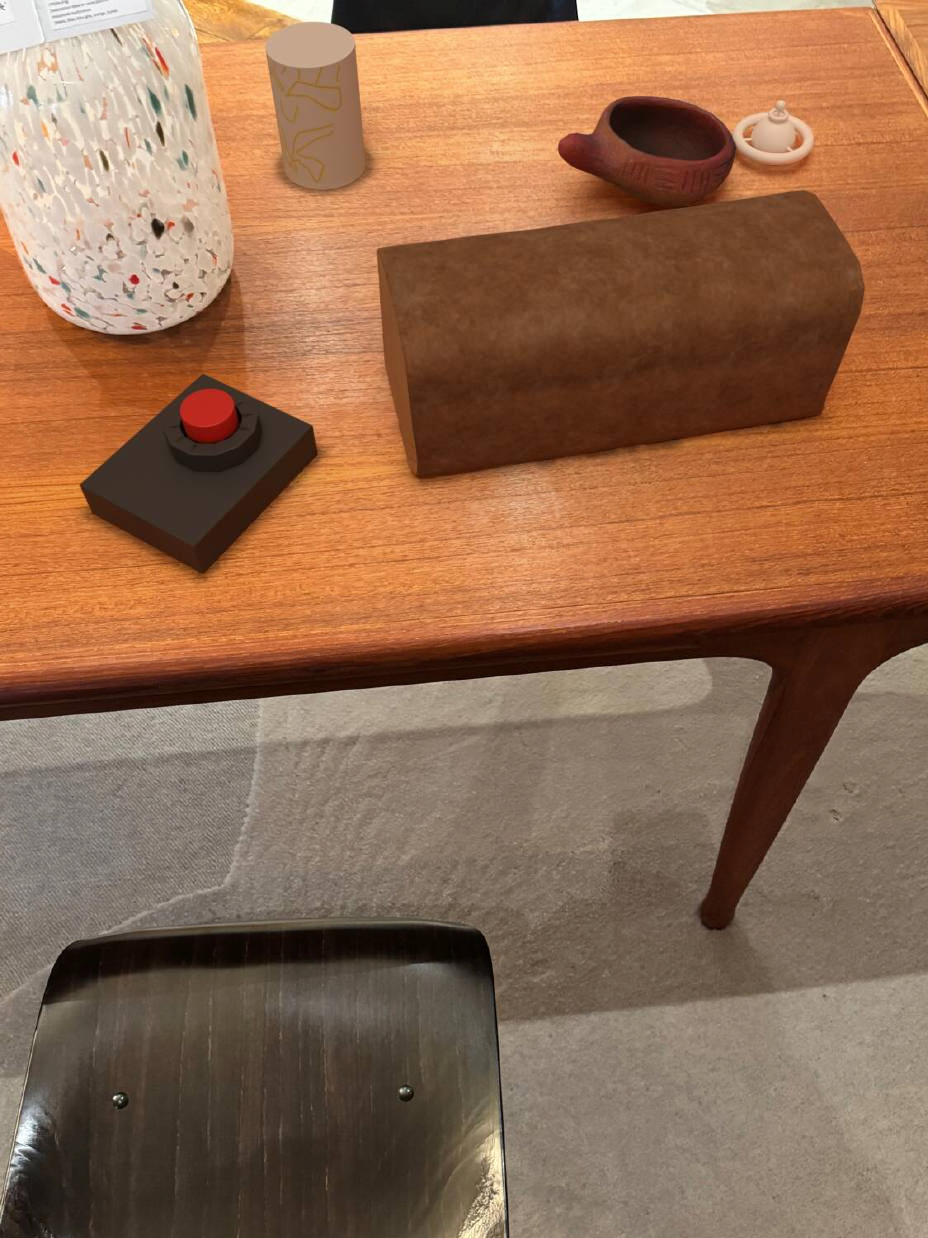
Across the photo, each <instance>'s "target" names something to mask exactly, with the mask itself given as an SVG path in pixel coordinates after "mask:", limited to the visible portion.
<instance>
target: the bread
mask: <svg viewBox="0 0 928 1238" xmlns="http://www.w3.org/2000/svg"><path fill="white" fill-rule="evenodd" d="M375 253H376V262H377V273H378V286H379V287H378V290H379V303H380V317H381V331H382V347H383V357H384V358H383V359H384V368H385V372H386V375H387V380H388V383H389V387H390V392H391V396H392V400H393V405H394V408H395V412H396V417H397V420H398V424H399V430H400V433H401V437H402V442H403V446H404V452H405V455H406V459H407V463H408V467H409V468H410V470H411V471H412V472H413V473H414V474H415V476H416V477H417V478H418V479H423V478H424V479H425V478H432V477H439V476H447V475H455V474H460V473H467V472H473V471H480V470H484V469H491V468H497V467H503V466H509V465H514V464H515V465H516V464H521V463H527V462H533V461H540V460H547V459H557V458H562V457H568V456H575V455H576V456H577V455H582V454H589V453H594V452H600V451H605V450H609V449H615V448H621V447H627V446H635V445H644V444H650V443H651V444H652V443H658V442H664V441H669V440H675V439H681V438H688V437H693V436H700V435H704V434H710V433H716V432H721V431H727V430H728V431H729V430H733V429H741V428H746V427H747V428H748V427H754V426H761V425H767V424H768V425H769V424H773V423H779V422H784V421H791V420H796V419H800V418H807V417H810V416H816V415H821V414H822V413H823V411H824V408H825V404H826V401H827V397H828V394H829V392H830V390H831V388H832V385H833V384H834V380H835V378H836V375H837V373H838V371H839V368H840V367H841V363H842V361H843V359H844V356H845V354H846V351H847V349H848V346H849V343H850V340H851V338H852V335H853V333H854V330H855V328H856V325H857V323H858V321H859V318H860V316H861V314H862V307H863V301H864V295H865V290H866V288H865V282H864V277H863V272H862V267H861V262H860V261H859V259H858V257H857V255H856V253H855V252H854V250H853V249H852V246H851V245H850V243H849V241H848V240H847V238H846V237H845V234H843V232H842V231H841V229H840V227H839V226H838V224H837V223H836V221H835V220H834V218H833V217H832V216H831V214H830V212H829V211H828V210H827V208H826V206H825V205H824V204H823V203H822V201H821V200H820V199H819V196H818V195H817V194H815V193H814V192H810V191H808V190H805V189H800V190H789V191H784V192H780V193H779V192H778V193H773V194H767V195H761V196H760V195H759V196H755V197H754V196H753V197H747V198H739V199H733V200H725V201H717V202H711V203H706V204H699V205H694V206H693V205H692V206H687V207H681V208H679V207H678V208H671V209H663V210H656V211H650V212H643V213H639V214H633V215H627V216H621V217H620V216H619V217H611V218H600V219H591V220H583V221H578V222H572V223H564V224H559V225H551V226H546V227H545V226H544V227H538V228H533V229H524V230H523V229H522V230H513V231H503V232H494V233H487V234H486V233H485V234H476V235H475V234H474V235H468V236H460V237H455V238H448V239H447V238H446V239H440V240H432V241H422V242H413V243H407V244H406V243H405V244H395V245H389V246H383V247H378V248H377V250H376V251H375Z"/></svg>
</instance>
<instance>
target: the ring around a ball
mask: <svg viewBox="0 0 928 1238" xmlns="http://www.w3.org/2000/svg"><path fill="white" fill-rule="evenodd" d="M786 106H787V104H786V102H785V100H782V99H780V100H777V102H776V103H775V106H774V107H773V108H771V109H770V110H768V111H767V112H766V111H763V112H758V113H753V114H750V115H748V116H746V117H744V118H742V119H740V120H739V121H738V122H737V123H736V125H735V126H734V127H733V130H732V132H731V134H732V137H733V140H734V141H735V142H736V151H738V152H739V154H740V155H742V156H743V157H745V158H746V159H748V160H750V161H752V162H755V163H758V164H763V165H768V166H769V165H770V166H783V165H789V164H793V163H796V162H799V161H800V160H801V161H802V159H804V158H806V157H807V156H808V155H809V154H810V153H811V151H812V150H813V148H814V144H815V135H814V132H813V131H812V129H811V127H810V126H809V125H808V124H807V123H805V121H803V120H802V119H799V118H798V117H796V116H793V115H790V113H789V112H788V110H786ZM752 127H753V129H752V132H751V134H750V137H746V138H745V137H744V133H745V132H746V131H747V130H748V129H751V128H752ZM797 134H798V135H800V137H801V138H802V144H801V146H799V147H797V148H796V149H793V148H794V146H795V143H796V139H797V138H796V137H797V136H796V135H797ZM748 142H750V145H749V143H748Z"/></svg>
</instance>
